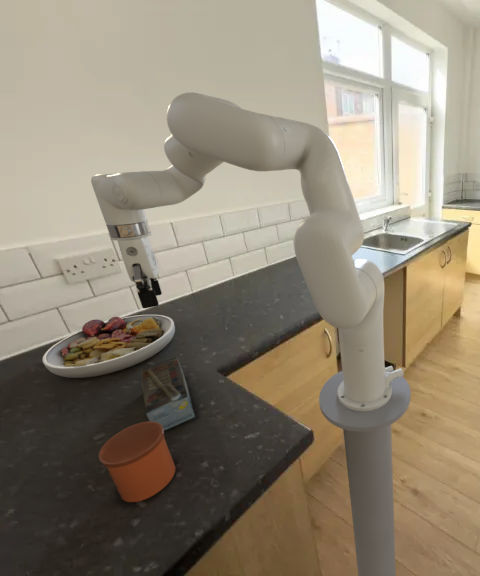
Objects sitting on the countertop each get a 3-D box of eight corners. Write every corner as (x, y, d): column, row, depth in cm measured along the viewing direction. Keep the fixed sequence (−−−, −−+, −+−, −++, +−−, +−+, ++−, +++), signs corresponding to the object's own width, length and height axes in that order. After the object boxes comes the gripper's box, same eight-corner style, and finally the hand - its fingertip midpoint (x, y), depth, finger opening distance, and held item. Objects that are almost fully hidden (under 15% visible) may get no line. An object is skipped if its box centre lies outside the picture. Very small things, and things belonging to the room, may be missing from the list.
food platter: (198, 338, 101) (192, 316, 98) (83, 397, 76) (70, 370, 73) (144, 321, 114) (137, 300, 111) (30, 367, 89) (17, 343, 86)
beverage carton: (152, 437, 64) (142, 411, 62) (147, 388, 79) (139, 366, 76) (196, 418, 69) (188, 393, 66) (184, 375, 83) (177, 354, 81)
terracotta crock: (178, 451, 61) (165, 414, 58) (176, 488, 54) (160, 448, 51) (123, 471, 57) (105, 433, 54) (112, 514, 50) (91, 473, 47)
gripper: (144, 235, 67) (168, 310, 74) (153, 223, 82) (172, 287, 88) (99, 240, 64) (128, 318, 71) (117, 226, 78) (139, 292, 85)
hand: (152, 300), depth 79 cm, fingers open, 7 cm apart
